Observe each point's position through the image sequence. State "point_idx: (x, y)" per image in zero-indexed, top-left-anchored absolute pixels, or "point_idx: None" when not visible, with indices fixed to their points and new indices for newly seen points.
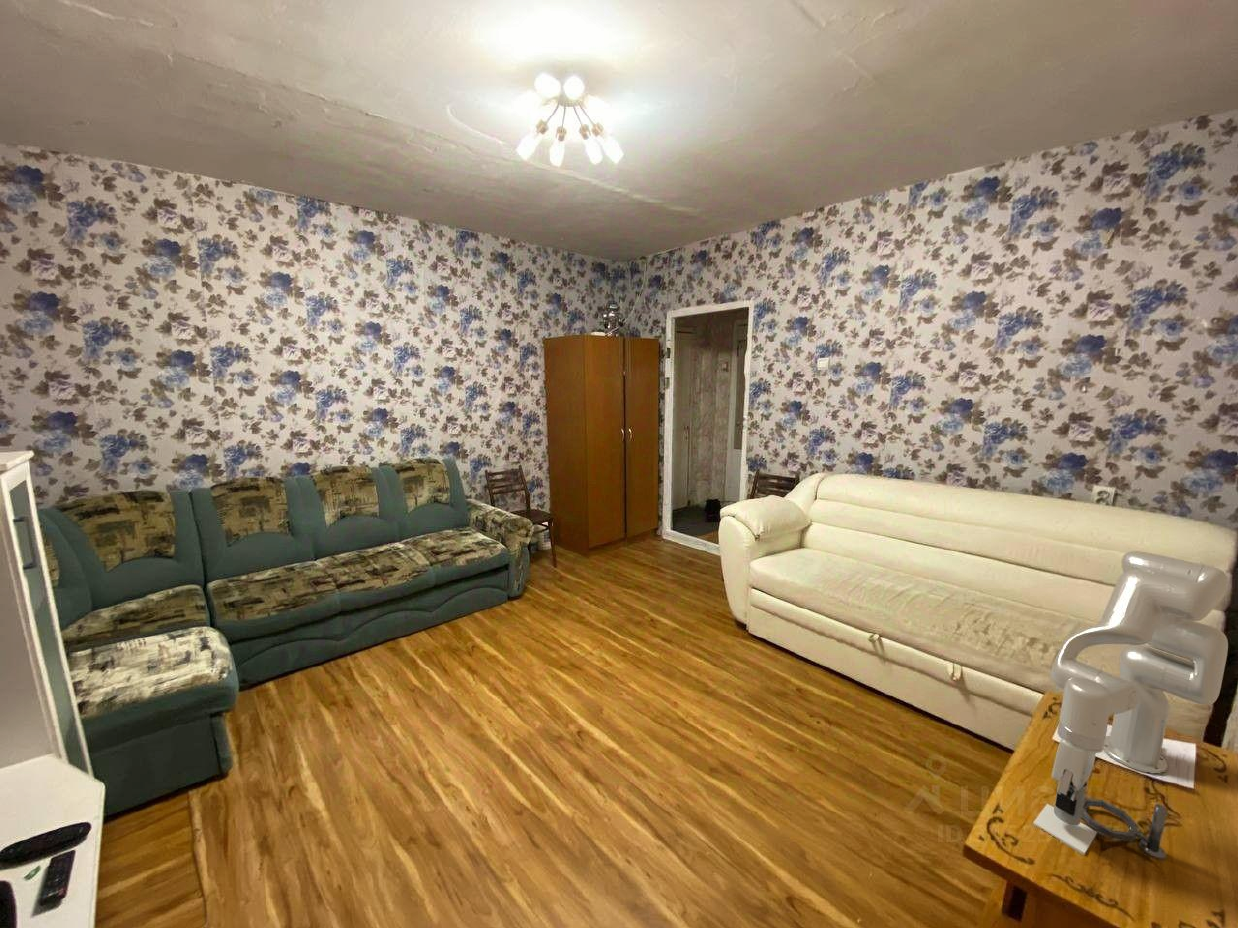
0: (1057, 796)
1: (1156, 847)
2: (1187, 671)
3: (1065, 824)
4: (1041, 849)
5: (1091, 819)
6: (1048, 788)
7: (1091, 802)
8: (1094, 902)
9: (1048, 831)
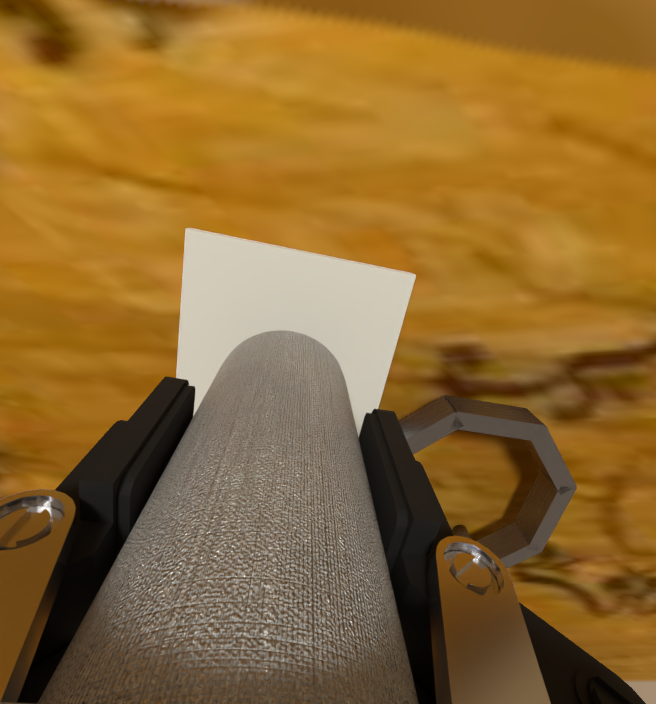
0: (120, 435)
1: None
2: None
3: None
4: (33, 283)
5: None
6: (571, 266)
7: (534, 450)
8: None
9: (182, 301)
